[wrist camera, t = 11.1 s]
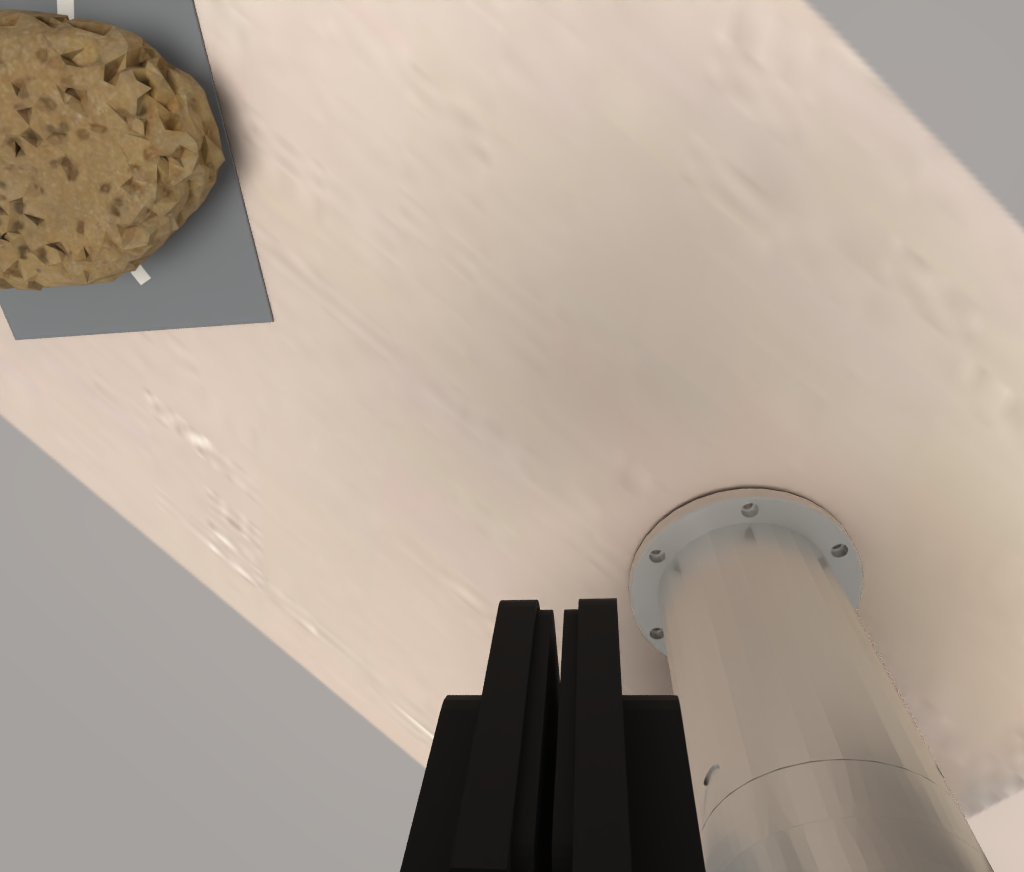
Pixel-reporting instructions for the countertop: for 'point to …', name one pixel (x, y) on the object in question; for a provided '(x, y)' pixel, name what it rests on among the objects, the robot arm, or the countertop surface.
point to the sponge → (93, 150)
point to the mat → (189, 250)
